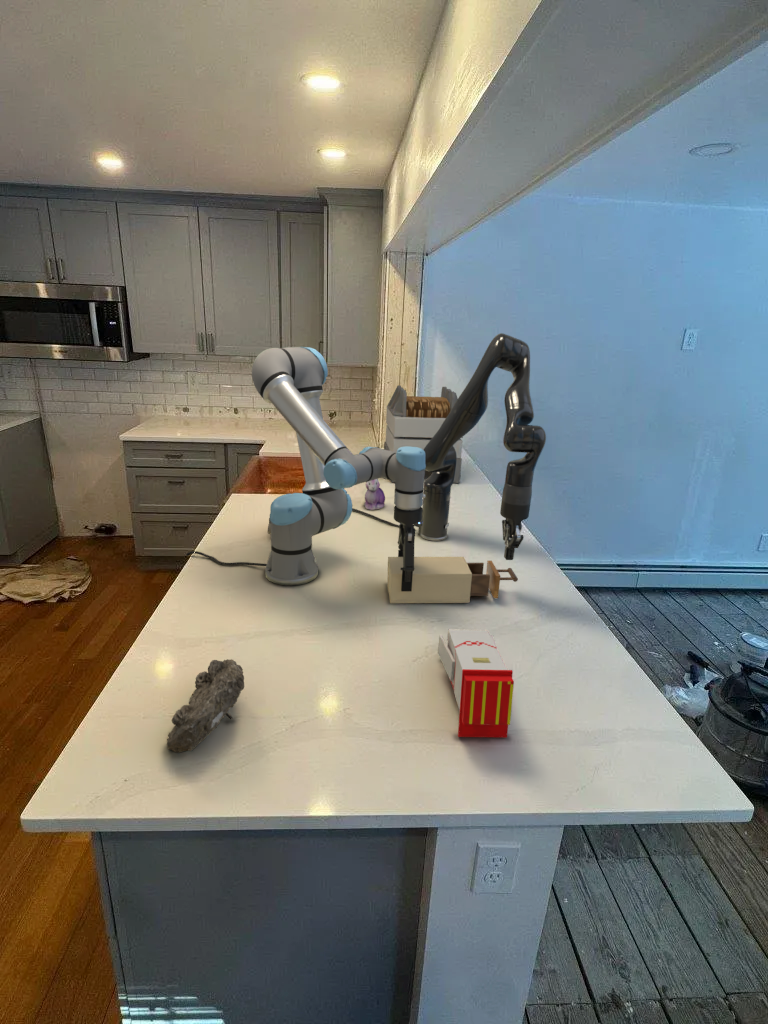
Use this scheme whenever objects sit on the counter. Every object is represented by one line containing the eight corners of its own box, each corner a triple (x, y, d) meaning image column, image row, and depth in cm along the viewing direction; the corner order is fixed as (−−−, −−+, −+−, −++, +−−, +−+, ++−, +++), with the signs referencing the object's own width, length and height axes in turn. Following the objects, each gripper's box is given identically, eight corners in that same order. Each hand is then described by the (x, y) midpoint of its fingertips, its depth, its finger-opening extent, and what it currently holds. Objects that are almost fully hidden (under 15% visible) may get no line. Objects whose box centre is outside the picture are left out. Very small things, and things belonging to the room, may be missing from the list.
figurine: (369, 511, 219) (370, 474, 214) (358, 503, 228) (359, 467, 223) (390, 509, 224) (392, 472, 219) (378, 501, 232) (380, 465, 227)
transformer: (382, 463, 289) (386, 382, 275) (445, 464, 293) (451, 384, 279) (390, 482, 257) (394, 392, 243) (460, 483, 261) (468, 394, 247)
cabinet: (461, 584, 165) (463, 556, 162) (469, 602, 154) (472, 573, 151) (387, 584, 163) (388, 556, 160) (390, 603, 153) (391, 574, 150)
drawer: (508, 581, 165) (510, 560, 162) (518, 598, 155) (520, 575, 153) (419, 582, 163) (420, 560, 160) (423, 598, 154) (425, 576, 151)
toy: (488, 613, 130) (523, 677, 101) (484, 667, 133) (517, 744, 104) (435, 612, 130) (455, 676, 101) (432, 666, 133) (451, 743, 103)
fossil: (192, 660, 117) (244, 628, 112) (224, 691, 120) (276, 661, 115) (142, 746, 98) (202, 712, 93) (182, 779, 101) (242, 748, 96)
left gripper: (428, 522, 139) (423, 601, 146) (417, 492, 161) (412, 562, 168) (398, 521, 138) (394, 601, 145) (390, 492, 160) (387, 562, 168)
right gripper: (538, 508, 145) (528, 569, 151) (522, 492, 157) (515, 549, 163) (509, 507, 144) (501, 569, 150) (496, 491, 157) (489, 548, 162)
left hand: (404, 580), depth 157 cm, fingers closed on cabinet, 11 cm apart
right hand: (508, 558), depth 157 cm, fingers closed
